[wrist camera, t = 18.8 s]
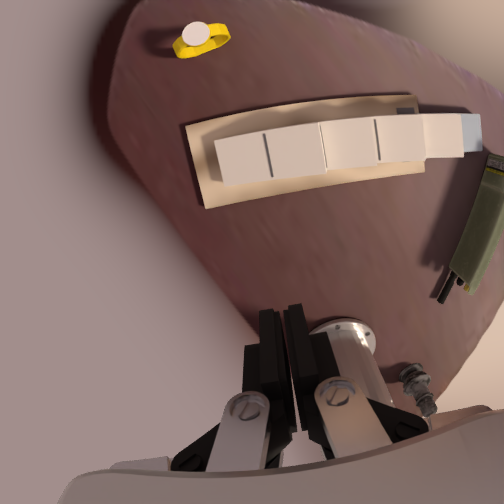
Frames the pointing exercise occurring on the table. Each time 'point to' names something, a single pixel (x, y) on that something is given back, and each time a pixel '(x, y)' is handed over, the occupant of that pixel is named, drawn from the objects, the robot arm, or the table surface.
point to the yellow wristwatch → (200, 39)
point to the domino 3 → (398, 138)
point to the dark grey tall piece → (418, 388)
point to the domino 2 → (348, 143)
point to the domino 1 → (271, 154)
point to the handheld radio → (479, 231)
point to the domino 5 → (469, 131)
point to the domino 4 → (442, 135)
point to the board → (288, 115)
